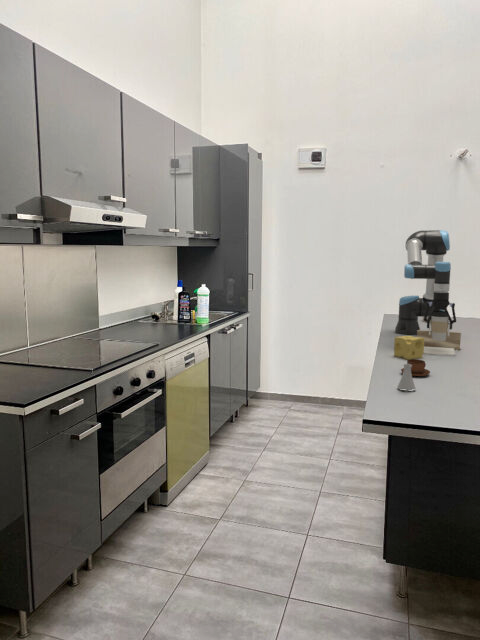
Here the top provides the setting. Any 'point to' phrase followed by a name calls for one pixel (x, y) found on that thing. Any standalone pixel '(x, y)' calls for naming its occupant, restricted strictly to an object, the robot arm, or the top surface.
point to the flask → (406, 379)
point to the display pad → (439, 351)
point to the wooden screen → (450, 341)
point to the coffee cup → (439, 325)
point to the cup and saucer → (417, 367)
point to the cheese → (409, 347)
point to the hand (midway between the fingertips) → (439, 335)
